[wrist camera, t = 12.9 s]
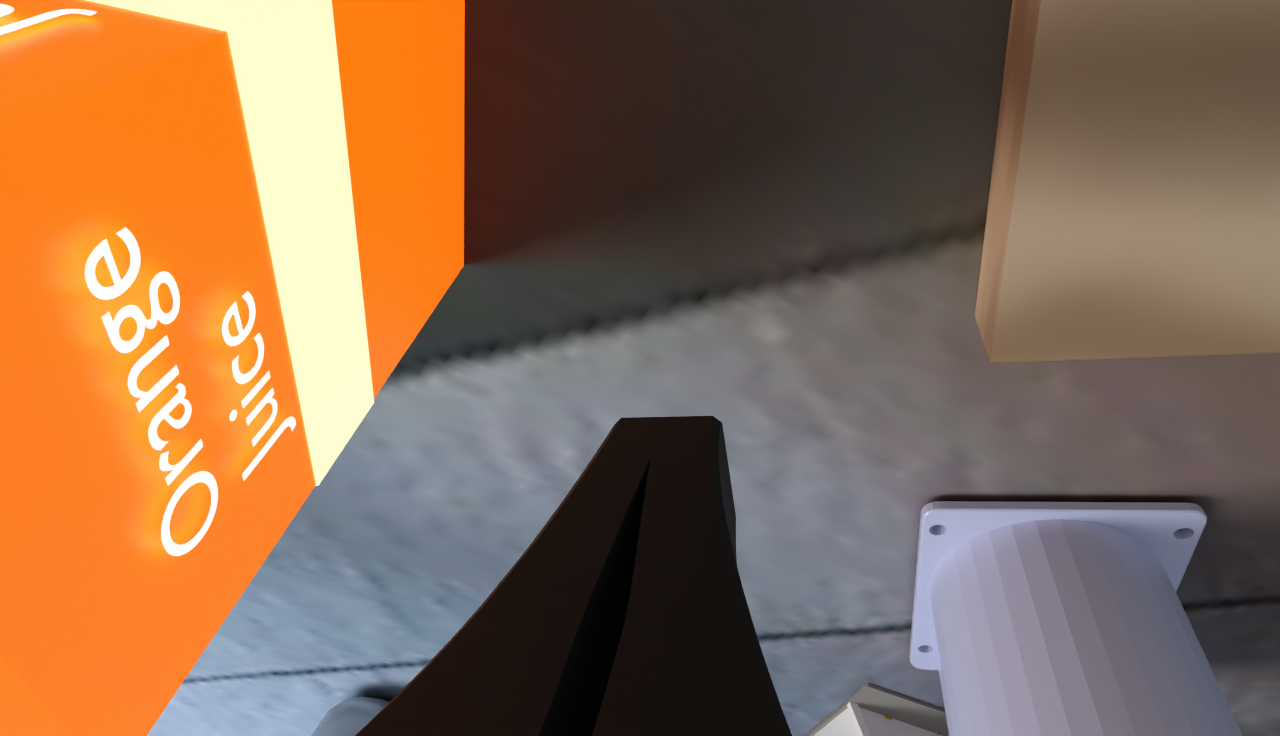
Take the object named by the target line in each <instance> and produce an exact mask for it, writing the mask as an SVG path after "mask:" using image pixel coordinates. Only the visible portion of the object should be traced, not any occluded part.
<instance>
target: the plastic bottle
mask: <svg viewBox="0 0 1280 736" xmlns="http://www.w3.org/2000/svg"><path fill="white" fill-rule="evenodd" d="M388 703H389V701H385V700H381V699H377V698H371V697H352V698H348V699H346V700H344V701H342V702H341V703H339V704H338V705H336V706H335V707H333V708H332V709H330V710H329V711H328V712H327V714H326V715H325V717H324V718H323V719H322V721H321V722H320V724H319V725H318V727H317V728H316V730H315V731H314V732H313V734H312V735H311V736H355V735H356V734H357V733H358V732H359V731H360V730H361V729H362V728H364V727H365V726H366V725H367V724H368V723H369V722H370V721H371V720H372V719H373V718H374V717H375V716H376V715H377V714H378V713H379V712H380V711H381V710H382V709H383V708H384V707H385V706H386V705H387V704H388Z"/></svg>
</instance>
